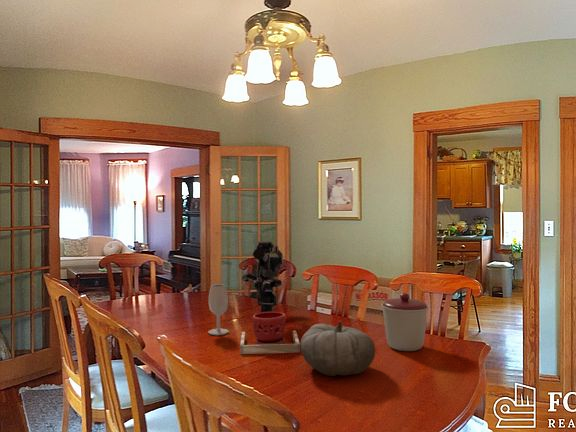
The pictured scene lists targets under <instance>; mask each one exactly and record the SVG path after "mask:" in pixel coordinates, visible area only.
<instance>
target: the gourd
mask: <svg viewBox="0 0 576 432" xmlns="http://www.w3.org/2000/svg"><path fill="white" fill-rule="evenodd" d="M342 324H343V322H342V320H339V322H338V324H337V325H336V326H334V325H331V324H326V323H316V324H313V325H311V326H310V328H309V329H308V330H307V331H306V332H305V333H304V334H303V336H302V337H301V340H300V353H301V355H302V357H303V359H304V360H305V361H306V363H307V364H308V365H309V366H310V367H311V368H312V369H314V370H317V371H318V373H320V374H323V375H324V376H329V377H330V376H331V377H335V376H337V375H338V376H348V375H350V376H351V375H356V374H357V375H358V374H360V373H363V372H364V371H365V370H366V369H368V368H369V367H370V365H372V362H373V361H374V359H375V354H376V347H375V343H374V341H373V339H372V338H371V337H370V336H369V335H368V334H367V333H365V332H364V331H361V330H360V329H357V328H355V327H350V326H344V325H342Z"/></svg>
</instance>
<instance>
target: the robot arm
mask: <svg viewBox="0 0 576 432" xmlns="http://www.w3.org/2000/svg"><path fill="white" fill-rule="evenodd" d="M270 254H276V255H270ZM252 256H253V259H255V261H256V262H257V265H256V266H257V267H256V268H255V271H256V276H255V273H251V272H250V273H249V272H246V273H244V274H243V275H242V277H241V281H242V282H249V281H253V283H252V285H253V286H254V288H255V290H256V293H257V306H260V313H262V312H275V307H276V306H278V300H277V296H276V294H275V290H274V289H275V288H279V287H282V284H283V281H282V280H281V279H278V278H277V277H278V274H279V271H280V270H281V269H282V266H283V265H284V256H283V253H282V251H281V250H280V249H279V246H278V245H274V243H273V242H272V241H270V240H269V241H263V240H262V241H258V243H256V246H255V249H254V251H253V253H252Z"/></svg>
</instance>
